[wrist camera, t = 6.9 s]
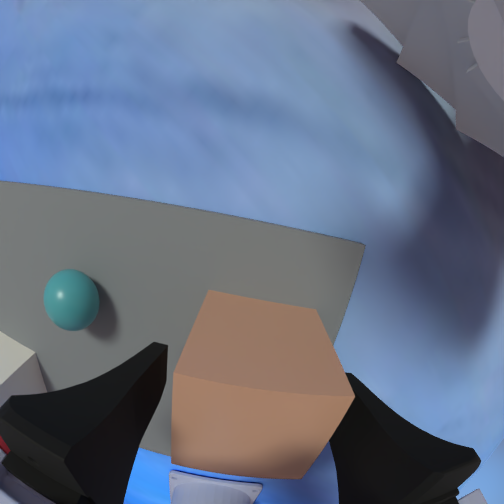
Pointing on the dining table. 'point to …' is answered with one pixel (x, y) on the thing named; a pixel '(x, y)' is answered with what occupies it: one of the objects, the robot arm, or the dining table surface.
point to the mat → (150, 277)
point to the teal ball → (71, 300)
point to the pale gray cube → (18, 370)
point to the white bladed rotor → (455, 57)
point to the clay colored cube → (256, 389)
